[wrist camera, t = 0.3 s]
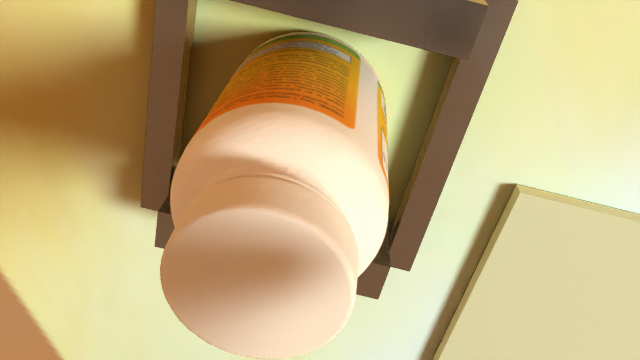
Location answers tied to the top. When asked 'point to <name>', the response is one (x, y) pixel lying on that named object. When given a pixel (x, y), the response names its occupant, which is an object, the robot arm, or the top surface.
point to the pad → (552, 285)
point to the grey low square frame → (362, 17)
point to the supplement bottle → (280, 200)
